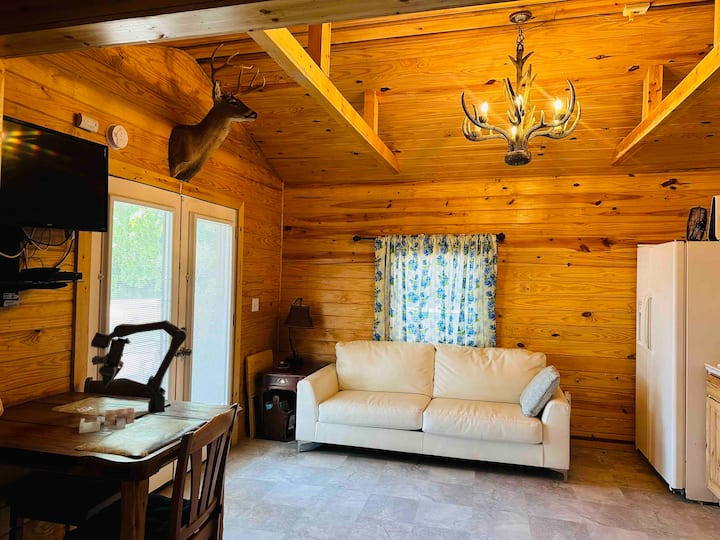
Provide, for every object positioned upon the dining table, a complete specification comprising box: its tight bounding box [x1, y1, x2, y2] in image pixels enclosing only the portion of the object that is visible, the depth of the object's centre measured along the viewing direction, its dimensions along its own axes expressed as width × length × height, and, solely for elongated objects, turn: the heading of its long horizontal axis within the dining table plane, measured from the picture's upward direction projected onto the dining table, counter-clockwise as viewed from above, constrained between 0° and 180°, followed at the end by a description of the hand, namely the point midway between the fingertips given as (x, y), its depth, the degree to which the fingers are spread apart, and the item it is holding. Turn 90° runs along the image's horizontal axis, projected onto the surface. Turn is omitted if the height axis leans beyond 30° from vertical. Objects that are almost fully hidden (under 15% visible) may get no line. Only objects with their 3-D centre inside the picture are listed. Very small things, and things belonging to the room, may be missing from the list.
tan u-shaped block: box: [103, 407, 135, 426], centre depth 200 cm, size 11×6×5 cm, turn 117°
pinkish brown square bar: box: [115, 414, 127, 430], centre depth 200 cm, size 18×3×3 cm, turn 27°
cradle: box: [78, 416, 102, 434], centre depth 191 cm, size 7×10×3 cm
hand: (106, 385), depth 213 cm, fingers open, 9 cm apart
